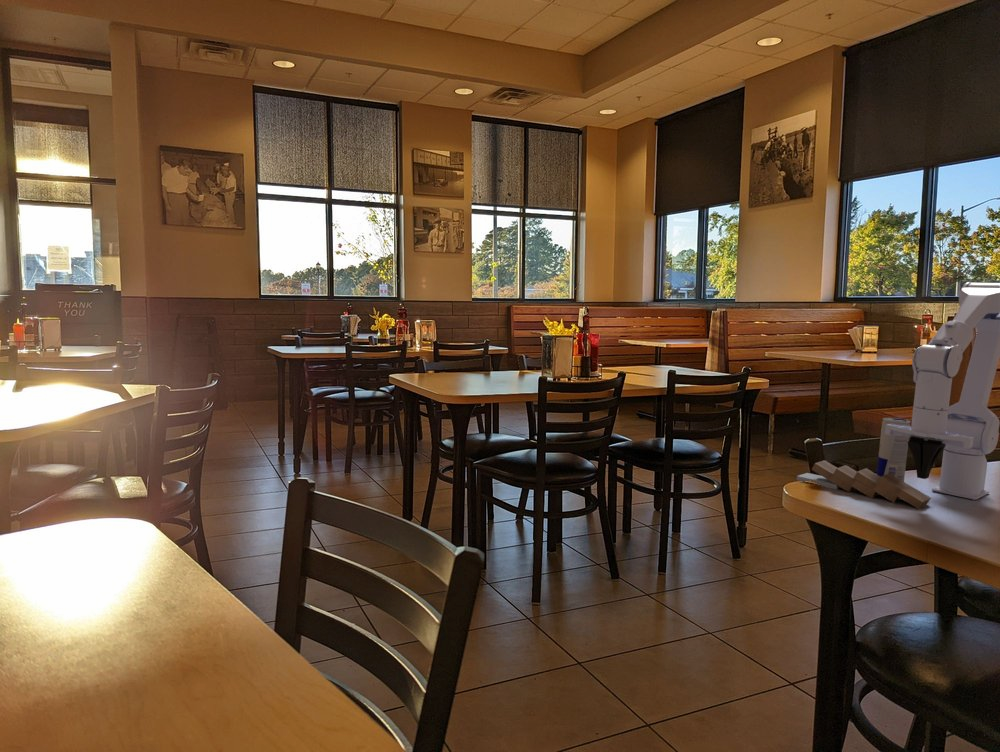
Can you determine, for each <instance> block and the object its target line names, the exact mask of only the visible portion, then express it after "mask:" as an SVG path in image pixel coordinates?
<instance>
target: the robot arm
mask: <svg viewBox="0 0 1000 752" xmlns="http://www.w3.org/2000/svg"><path fill="white" fill-rule="evenodd" d="M958 305H959V309H958V310H957V312H956V314H955V316H954V317H953V319H952V320H948V321H945V322H944V323H943V324H942V325H941V326H940V328H939V329H938V330H937V331H936V332H935V334H934V335H933V337H932V338H931V339H930V341H929V342H928V343H927V344H923V345H921V346H919V347H917V348H916V349H915V351H914V353H913V357H912V361H911V362H912V363H911V365H912V370H913V377H912V378H913V379H912V380H913V382H914V383H915V389H914V398H913V408H912V415H911V424H910V426H901V425H893V424H887V425H886V427H885V434H886V435H896V436H902V437H908V438H909V441H908V449H909V451H910V452H911V454H912V458H913V461H914V465H915V470H916V477H917V479H923V480H926V479H928V478H929V477H930V474H931V471H932V469H933V466H934V464H935V462H936V461H937V459H938V457H939V456H940V454H941V453H942V461H941V462H942V463H941V467H940V468H941V470H940V479H939V485H937V486H934V487H932V488H931V491H933V492H936V493H942V494H947V495H951V496H954V497H955V496H956V497H960V498H965V499H970V500H973V501H974V500H975V501H976V500H978V499H980V498H981V497H984V496H986V495H987V494H989V493H990V490H989V489H988V490H987V489H985V485H986V475H987V471H988V460H987V458H986V455H988V454H990V453H992V452H993V451H994V450H995V449H996V447H997V445H998V441H999V437H1000V436H999V433H1000V432H999V428H1000V420H999V417H998V416H997V415H996V414H995V413H994V412H993V411H992V410H990V409H989V408H988V405H989V401H990V396H991V393H992V389H993V383H994V380H995V376H996V372H997V369H998V365H999V360H1000V282H972V281H967V282H966V283H964V284H963V286H961V288H960V291H959V294H958ZM974 328H975V329H976V335H975V339H974V343H973V347H972V351H971V355H970V359H969V362H968V366H967V370H966V374H965V378H964V382H963V386H962V389H961V393H960V397H959V401H958V402H955V403H954V404H952V405H950V400H951V392H952V383H953V378H954V377H955V376H956V375H957V374H958V372H959V370H960V366H961V363H962V361H963V353H964V352H965V350H966V349H967V348H968V346H969V345H970V343H971V342H972V341H973V338H974V332H973V329H974ZM942 451H943V452H942Z"/></svg>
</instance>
